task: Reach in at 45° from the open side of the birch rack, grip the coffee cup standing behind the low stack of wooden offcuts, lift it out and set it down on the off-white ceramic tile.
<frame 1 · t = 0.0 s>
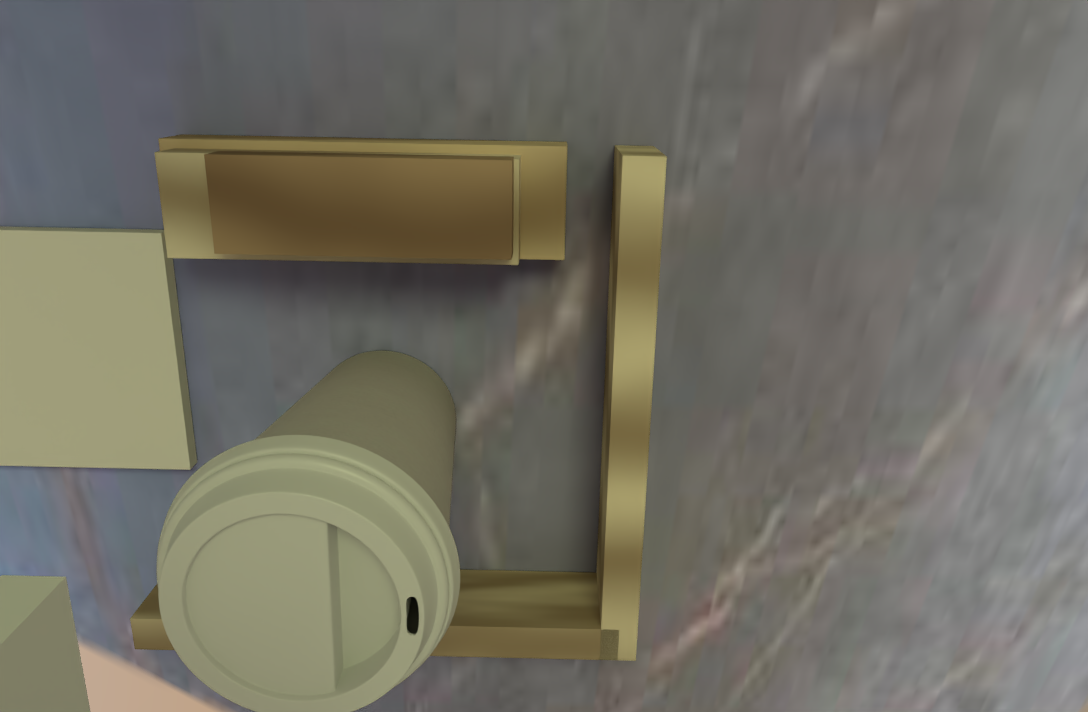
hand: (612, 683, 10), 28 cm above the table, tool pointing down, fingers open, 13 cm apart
ceramic tile: (62, 348, 39), on the table
coffee cup: (386, 415, 40), on the table
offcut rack: (385, 406, 40), on the table
offcut stack: (376, 192, 36), on the table
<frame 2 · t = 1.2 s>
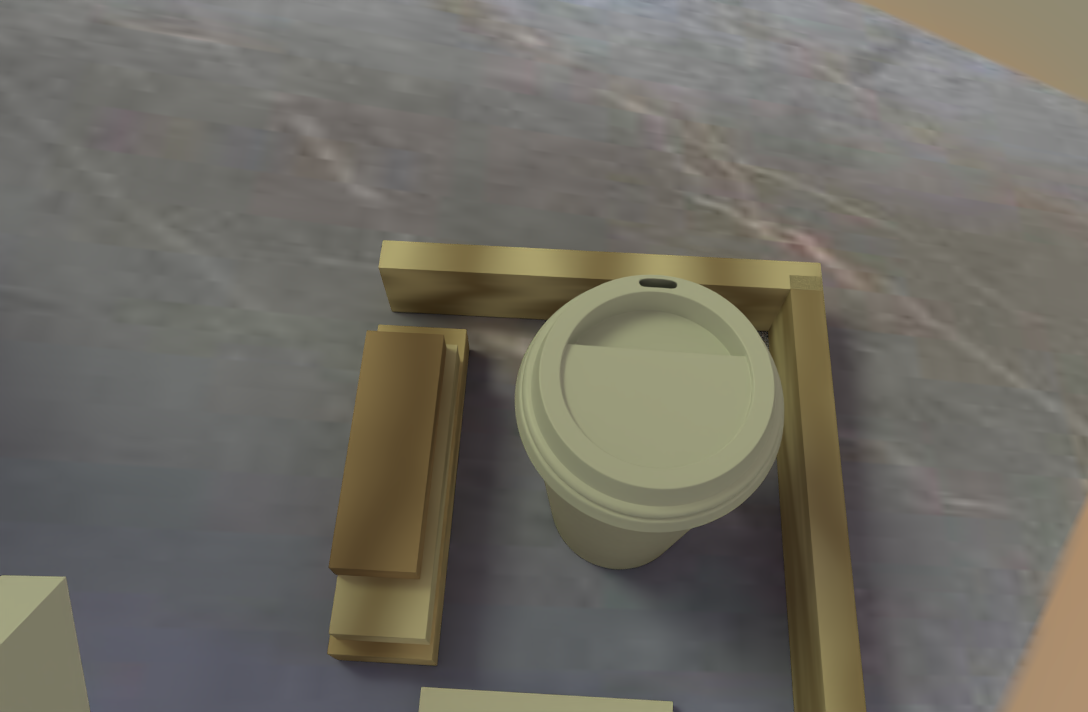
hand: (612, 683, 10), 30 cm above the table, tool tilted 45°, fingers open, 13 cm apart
coffee cup: (616, 504, 42), on the table
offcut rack: (606, 502, 42), on the table
offcut stack: (408, 491, 42), on the table
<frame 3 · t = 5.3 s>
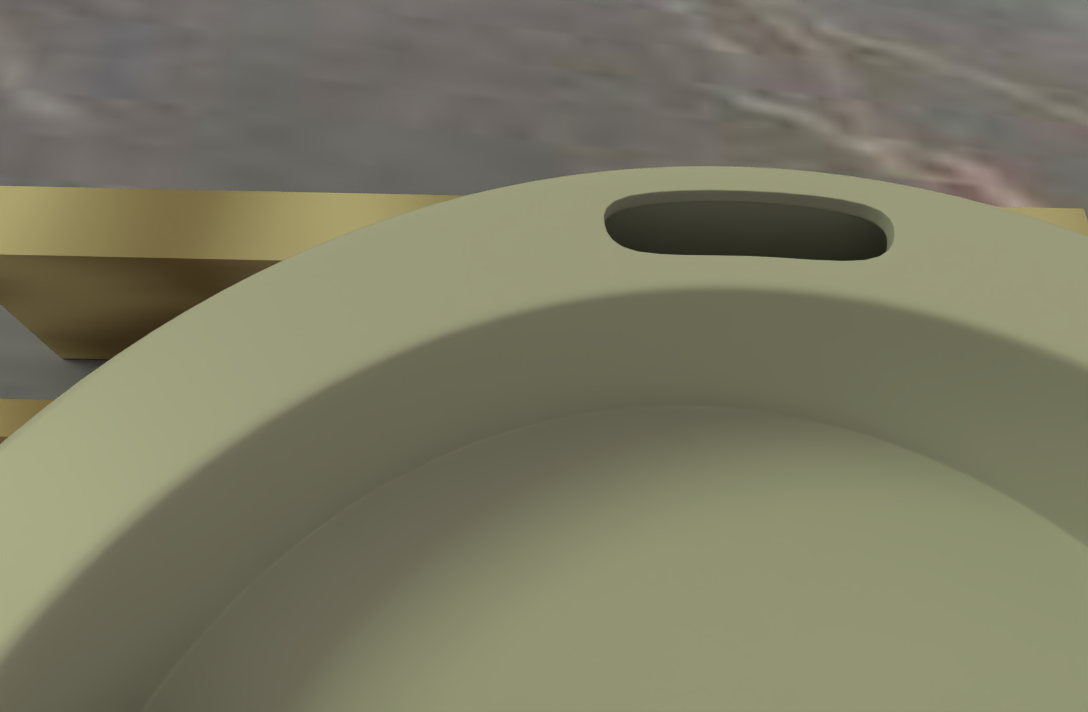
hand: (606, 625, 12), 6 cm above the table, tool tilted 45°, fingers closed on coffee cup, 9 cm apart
when the fingers open (8 cm above the table, at t = 11.2 s): coffee cup drops 1 cm, resting on ceramic tile.
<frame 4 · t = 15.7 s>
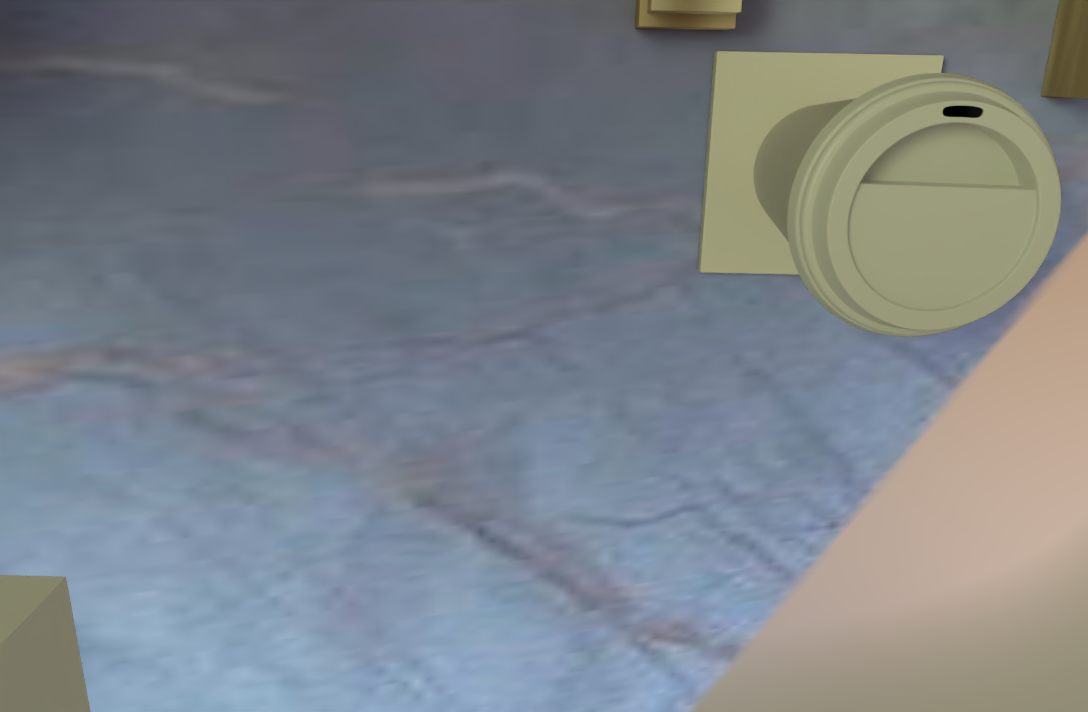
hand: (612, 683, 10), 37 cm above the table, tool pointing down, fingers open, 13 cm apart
ceramic tile: (812, 166, 44), on the table
coffee cup: (816, 170, 44), point 1 cm above the table, touching ceramic tile
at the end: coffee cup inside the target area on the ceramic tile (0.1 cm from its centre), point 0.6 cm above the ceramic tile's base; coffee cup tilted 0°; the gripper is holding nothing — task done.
